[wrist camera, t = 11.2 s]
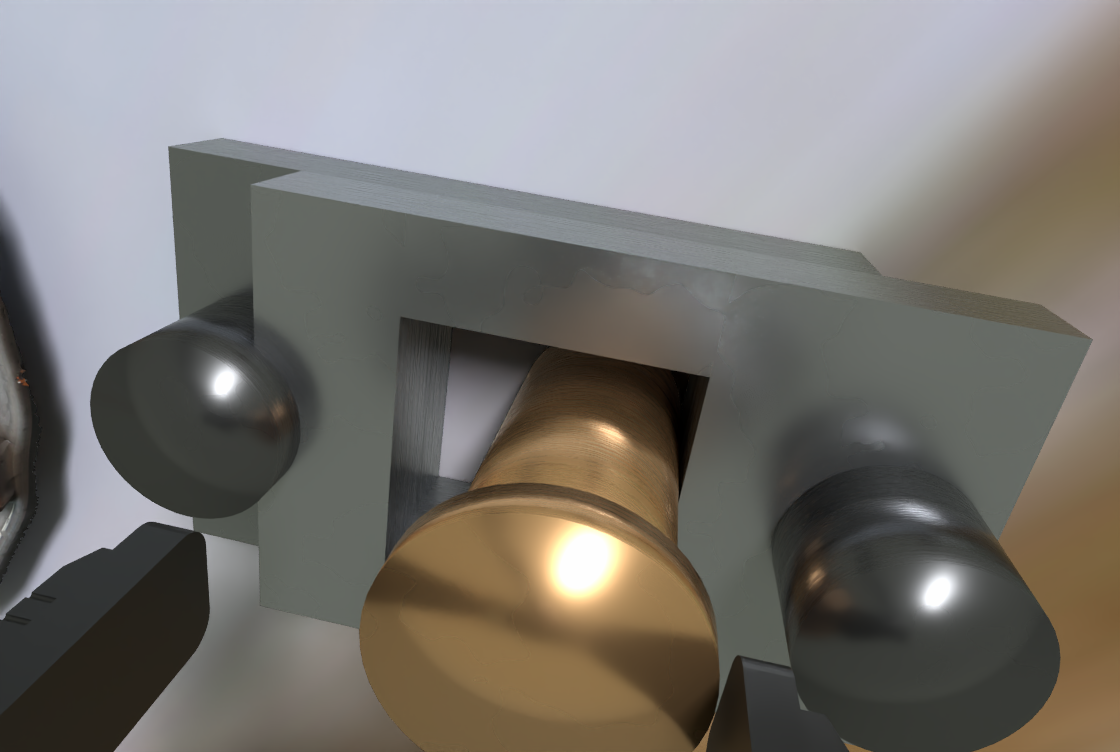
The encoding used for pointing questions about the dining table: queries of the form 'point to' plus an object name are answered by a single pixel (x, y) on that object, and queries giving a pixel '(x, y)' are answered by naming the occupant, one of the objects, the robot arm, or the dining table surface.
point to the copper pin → (553, 582)
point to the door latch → (631, 335)
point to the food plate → (15, 446)
